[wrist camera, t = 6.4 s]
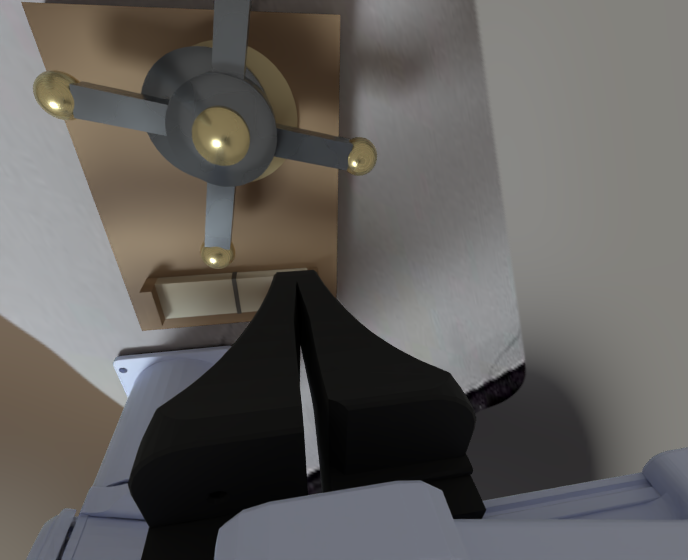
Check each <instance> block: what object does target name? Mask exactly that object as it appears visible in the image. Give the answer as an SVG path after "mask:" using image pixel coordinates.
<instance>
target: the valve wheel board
mask: <svg viewBox="0 0 688 560" xmlns="http://www.w3.org/2000/svg"><path fill="white" fill-rule="evenodd" d="M21 3H22V6H23V8H24V11H25V14H26V17H27V19H28V22H29V25H30V27H31V30H32V33H33V36H34V38H35V41H36V44H37V46H38V49H39V52H40V55H41V57H42V60H43V63H44V65H45V68H46V71H50V70H57V71H62V72H65V73H68V74H70V75H72V76H73V77H75V78H76V79H77V80H79V81H80V82H81V81H84V82H89V83H94V84H98V85H103V86H108V87H112V88H117V89H121V90H126V91H131V92H135V93H140V94H141V90H142V86H143V83H144V80H145V77H146V75H147V73H148V71H149V70H150V69H151V67H152V66H153V65H154V64H155V63H156V62H157V61H158V60H159V59H160V58H161V57H162V56H164V55H165V54H167V53H169V52H171V51H173V50H176V49H179V48H183V47H191V46H206V47H211V48H212V47H213V22H214V10H207V9H182V8H157V7H132V6H107V5H82V4H57V3H32V2H21ZM246 66H247V67H248V68H249V69H250V70H251V71H252V72H253V73H254V74H255V76H256V77H257V78H258V80H259V81H260V83H261V85H262V86H263V88H264V90H265V93H266V95H267V97H268V99H269V101H270V103H271V105H272V108H273V111H274V114H275V119H276V123H278V124H283V125H287V126H292V127H297V128H301V129H306V130H310V131H315V132H320V133H324V134H329V135H334V136H338V137H339V77H340V15H332V14H307V13H282V12H257V11H251V13H250V25H249V37H248V49H247V61H246ZM65 123H66V125H67V128H68V131H69V133H70V136H71V139H72V142H73V144H74V147H75V150H76V152H77V155H78V158H79V161H80V163H81V166H82V169H83V171H84V174H85V177H86V180H87V182H88V185H89V188H90V190H91V193H92V196H93V199H94V201H95V204H96V207H97V210H98V212H99V215H100V218H101V220H102V223H103V226H104V229H105V231H106V234H107V237H108V239H109V242H110V245H111V248H112V250H113V253H114V256H115V258H116V261H117V264H118V267H119V269H120V272H121V275H122V277H123V280H124V283H125V286H126V288H127V291H128V294H129V296H130V299H131V302H132V305H133V307H134V310H135V313H136V316H137V318H138V321H139V324H140V326H141V329H142V331H146V330H157V329H169V328H180V327H192V326H203V325H215V324H226V323H238V322H249V321H251V320H252V319H253V317H254V316H255V314H256V313H257V311H258V309H259V308H260V306H261V304H262V302H263V300H264V298H265V296H266V295H267V292H268V290H269V288H270V286H271V283H272V280H273V276H274V275H275V274H276V273H277V272H287V271H301V270H315V271H316V272H317V274H318V275H319V277H320V279H321V280H322V281H323V283H324V284H325V286H326V287H327V288H328V290H329V291H330V292H331V293H332V294H333V296H334V297H335V298H336V293H337V221H338V169H336V168H331V167H326V166H321V165H315V164H310V163H305V162H300V161H295V160H289V159H284V158H279V157H273V159H272V161H271V163H270V165H269V167H268V168H267V169H266V171H265V172H264V173H263V174H262V175H260V176H259V177H258V178H257V179H255V180H253V181H252V182H249V183H247V184H244V185H240V186H236V195H235V207H234V220H233V232H232V241H231V242H232V243H233V245H234V247H235V251H236V254H235V258H234V260H233V262H232V263H231V264H230V265H229V266H227V267H225V268H222V269H214V268H211V267H209V266H207V265H206V264H205V263H204V262H203V260H202V258H201V255H200V248H201V245H202V243H203V242H204V241H205V221H206V196H207V182H205V181H203V180H201V179H199V178H197V177H194V176H191V175H189V174H187V173H185V172H183V171H181V170H179V169H178V168H176V167H175V166H174V165H172V164H171V163H170V162H168V161H167V160H166V159H165V158H164V157H163V156H162V155H161V153H160V152H159V151H158V150H157V149H156V147H155V146H154V144H153V143H152V141H151V139H150V137H149V135H148V134H147V132H144V131H139V130H134V129H128V128H123V127H118V126H113V125H108V124H102V123H97V122H92V121H87V120H82V119H76V120H65Z"/></svg>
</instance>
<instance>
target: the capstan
mask: <svg viewBox="0 0 688 560" xmlns="http://www.w3.org/2000/svg"><path fill="white" fill-rule="evenodd" d="M250 13H251V0H214V22H213V47H212V48H211V47H206V46H191V47H183V48H179V49H176V50H173V51H171V52H169V53H167V54H165V55H164V56H162V57H161V58H160V59H159V60H158V61H157V62H156V63H155V64H154V65H153V66H152V67H151V69H150V70H149V71H148V73H147V75H146V77H145V80H144V83H143V86H142V90H141V94H140V93H135V92H131V91H126V90H121V89H117V88H112V87H108V86H103V85H98V84H94V83H89V82H84V81H81V82H80V81H79V80H77V79H76V78H75V77H73V76H72V75H70V74H68V73H65V72H62V71H57V70H50V71H46V72H43V73H41V74H40V75H39V76H38V77H37V78H36V79H35V81H34V84H33V93H34V96H35V99H36V101H37V102H38V104H39V105H40V106H41V108H42V109H43V110H45V111H46V112H47V113H48V114H50V115H52V116H53V117H56V118H58V119H62V120H76V119H82V120H87V121H92V122H97V123H102V124H108V125H113V126H118V127H123V128H128V129H134V130H139V131H144V132H147V134H148V135H149V137H150V139H151V141H152V143H153V144H154V146H155V147H156V149H157V150H158V151H159V152H160V153H161V155H162V156H163V157H164V158H165V159H166V160H167V161H168V162H170V163H171V164H172V165H174V166H175V167H176V168H178V169H179V170H181V171H183V172H185V173H187V174H189V175H191V176H194V177H197V178H199V179H201V180H203V181H205V182H207V196H206V221H205V241H204V242H203V243H202V245H201V248H200V255H201V258H202V260H203V262H204V263H205V264H206V265H207V266H209V267H211V268H214V269H222V268H225V267H227V266H229V265H230V264H231V263H232V262H233V260H234V258H235V254H236V251H235V247H234V245H233V243H232V242H231V241H232V232H233V220H234V207H235V195H236V186H240V185H244V184H247V183H249V182H252V181H253V180H255V179H257V178H258V177H259V176H260V175H262V174H263V173H264V172H265V171H266V169H267V168H268V167H269V165H270V163H271V161H272V159H273V157H279V158H284V159H289V160H295V161H300V162H305V163H310V164H315V165H321V166H326V167H331V168H336V169H341V170H346V171H347V172H349V173H350V174H352V175H356V176H361V175H365V174H367V173H369V172H370V171H371V170H372V169H373V168H374V166H375V164H376V161H377V152H376V149H375V146H374V145H373V144H372V142H370V141H369V140H368V139H366V138H362V137H356V138H353V139H350V140H349V139H347V138H343V137H338V136H334V135H329V134H324V133H320V132H315V131H310V130H306V129H301V128H297V127H292V126H287V125H283V124H278V123H276V119H275V114H274V111H273V108H272V105H271V103H270V101H269V99H268V97H267V95H266V93H265V90H264V88H263V86H262V85H261V83H260V81H259V80H258V78H257V77H256V76H255V74H254V73H253V72H252V71H251V70H250V69H249V68H248V67H247V66H246V61H247V49H248V37H249V25H250Z"/></svg>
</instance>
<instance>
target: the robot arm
mask: <svg viewBox="0 0 688 560" xmlns="http://www.w3.org/2000/svg"><path fill="white" fill-rule="evenodd" d="M300 345H301V350H302V354H303V359H304V364H305V369H306V373H307V378H308V383H309V388H310V392H311V397H312V403H313V409H314V417H315V426H316V436H317V445H318V455H319V464H320V474H321V484H322V493H320V494H313V495H308V489H307V473H306V456H305V440H304V426H303V414H302V403H301V394H300ZM113 366H114V368H115V371H116V373H117V375H118V377H119V379H120V382H121V384H122V386H123V388H124V390H125V392H126V395H127V397H128V400H127V402H126V404H125V407H124V409H123V412H122V414H121V417H120V419H119V422H118V424H117V427H116V429H115V432H114V434H113V437H112V439H111V442H110V445H109V447H108V449H107V452H106V454H105V457H104V459H103V462H102V464H101V467H100V469H99V472H98V474H97V477H96V479H95V481H94V484H93V486H92V487H91V488H90V489H89V492H88V494H87V496H86V499H85V502H84V504H83V506H82V509H81V511H80V513H79V516H78V517H75V516H74V515H75V513H76V510H75V509H69V508H66V509H63V510H62V511H61V512H60V514H59V515H56V516H55V517H53V518H52V519H50V520H48V521H47V522H46V523H45V524H44V526H43V527H42V529H41V531H40V533H39V534H38V537H37V538H36V540H35V542H34V544H33V546H32V548H31V550H30V552H29V555H28V557H27V559H26V560H688V447H686V448H681V449H675V450H669V451H665V452H662V453H659V454H657V455H655V456H654V457H652V458H651V459H650V460H649V461H648V462H647V463H646V465H645V466H644V468H643V471H642V472H641V473H635V474H630V475H624V476H618V477H613V478H608V479H602V480H597V481H591V482H585V483H580V484H574V485H568V486H563V487H558V488H552V489H547V490H541V491H535V492H530V493H525V494H518V495H513V496H507V497H502V498H496V499H491V500H485V501H482V499H481V497H480V495H479V493H478V491H477V488H476V486H475V484H474V482H473V480H472V478H471V476H470V474H472V472H473V468H472V465H471V463H470V461H469V459H468V457H467V455H466V451H467V448H468V445H469V442H470V440H471V437H472V434H473V431H474V428H475V423H476V416H475V412H474V409H473V407H472V406H471V404H470V402H469V400H468V398H467V397H466V395H465V394H464V392H463V390H462V389H461V387H460V386H459V385H458V383H457V382H456V381H455V379H454V378H453V377H452V375H451V374H450V373H449V372H447V371H444V370H442V369H439V368H437V367H435V366H432V365H430V364H427V363H425V362H423V361H420V360H418V359H416V358H414V357H412V356H410V355H408V354H406V353H405V352H403V351H401V350H399V349H397V348H396V347H394V346H392V345H390V344H389V343H387V342H386V341H384V340H383V339H381V338H380V337H378V336H377V335H375V334H374V333H372V332H371V331H370V330H368V329H367V328H366V327H365V326H363V325H362V324H361V323H360V322H359V321H358V320H357V319H355V318H354V317H353V316H352V315H351V314H350V313H349V312H348V311H347V310H346V309H345V308H344V307H343V306H342V305H341V304H340V302H339V301H338V300H337V299H336V298H335V297H334V296H333V294H332V293H331V292H330V291H329V290H328V288H327V287H326V286H325V284H324V283H323V281H322V280H321V279H320V277H319V275H318V274H317V272H316V271H315V270H301V271H287V272H277V273H276V274H275V275H274V276H273V280H272V283H271V286H270V288H269V290H268V292H267V295H266V296H265V298H264V300H263V302H262V304H261V306H260V308H259V309H258V311H257V313H256V314H255V316H254V317H253V319H252V320H251V322H250V324H249V325H248V326H247V328H246V329H245V331H244V332H243V333H242V334H241V336H240V337H239V338H238V339H237V341H236V342H235V343H234V344H233V345H232V346H220V347H209V348H199V349H189V350H178V351H168V352H157V353H147V354H137V355H126V356H119V357H116V358H115V360H114V362H113ZM124 368H126V369H124Z"/></svg>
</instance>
